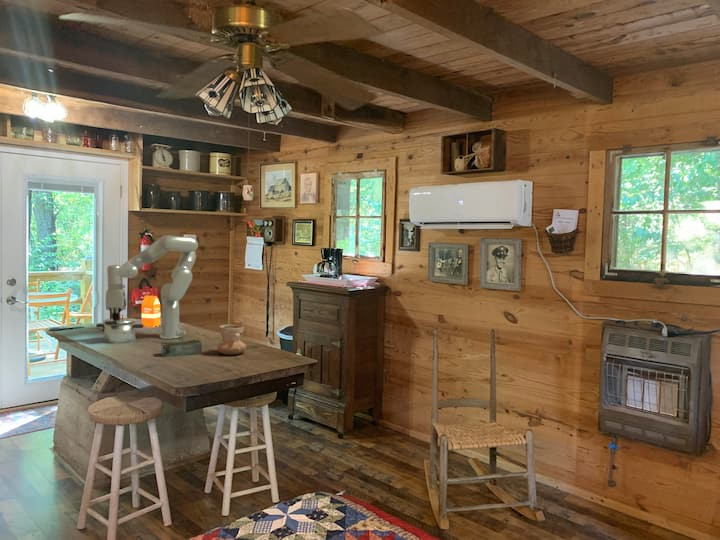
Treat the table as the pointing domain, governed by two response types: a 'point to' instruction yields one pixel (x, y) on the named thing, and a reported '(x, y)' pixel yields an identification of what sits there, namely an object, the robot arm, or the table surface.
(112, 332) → the pot
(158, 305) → the orange juice
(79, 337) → the table surface
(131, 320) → the lid
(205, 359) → the table surface
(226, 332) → the ceramic jug
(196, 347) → the grey-green rectangular block
